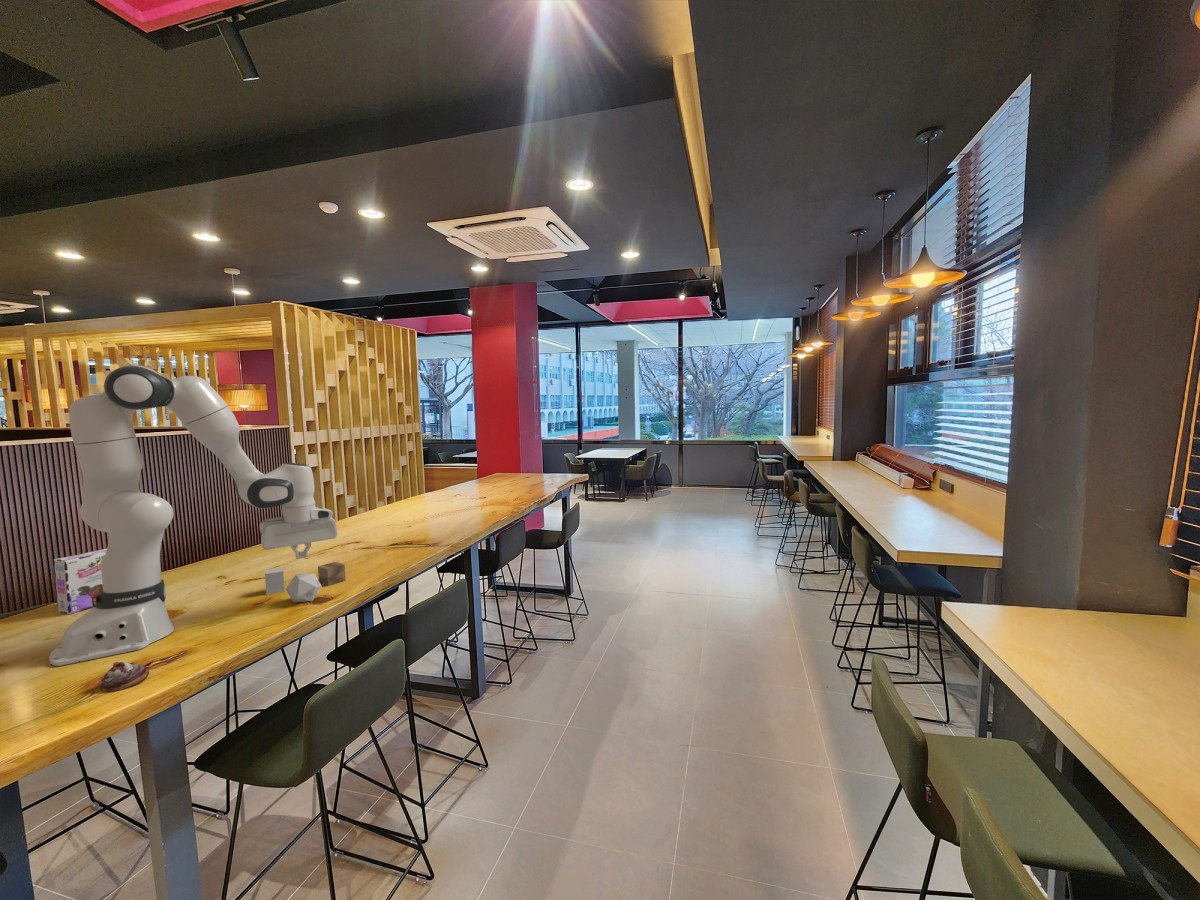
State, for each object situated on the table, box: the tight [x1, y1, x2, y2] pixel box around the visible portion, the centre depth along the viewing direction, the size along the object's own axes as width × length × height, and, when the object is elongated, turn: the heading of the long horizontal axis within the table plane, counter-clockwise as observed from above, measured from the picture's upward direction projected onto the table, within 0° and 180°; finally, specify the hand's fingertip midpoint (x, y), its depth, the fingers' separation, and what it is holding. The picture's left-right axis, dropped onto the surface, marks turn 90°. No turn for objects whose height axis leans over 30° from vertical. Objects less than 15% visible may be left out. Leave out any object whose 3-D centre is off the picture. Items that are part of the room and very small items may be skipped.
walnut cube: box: [317, 561, 347, 587], centre depth 167 cm, size 6×6×6 cm
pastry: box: [99, 661, 150, 693], centre depth 105 cm, size 8×8×5 cm
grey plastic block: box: [264, 566, 286, 596], centre depth 159 cm, size 5×5×7 cm
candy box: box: [53, 548, 107, 615], centre depth 148 cm, size 14×6×16 cm, turn 161°
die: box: [285, 572, 322, 604], centre depth 151 cm, size 8×9×10 cm
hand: (301, 557), depth 150 cm, fingers closed
